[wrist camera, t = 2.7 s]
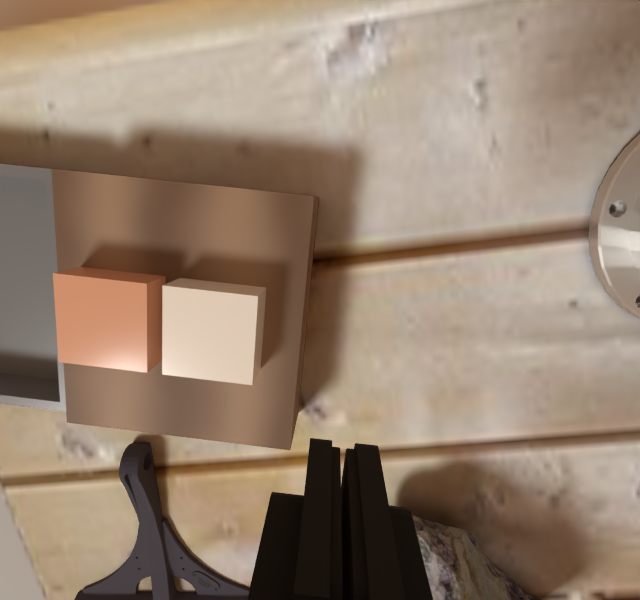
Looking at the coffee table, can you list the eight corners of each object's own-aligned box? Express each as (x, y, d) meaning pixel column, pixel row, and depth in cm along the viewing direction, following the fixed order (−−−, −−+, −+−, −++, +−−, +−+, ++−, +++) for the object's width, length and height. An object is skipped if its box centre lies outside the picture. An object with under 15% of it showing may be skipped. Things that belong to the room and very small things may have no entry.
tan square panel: (318, 197, 23) (314, 195, 19) (297, 413, 26) (290, 449, 22) (100, 175, 23) (51, 168, 19) (107, 390, 26) (66, 422, 22)
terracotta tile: (165, 276, 20) (146, 283, 18) (165, 357, 21) (147, 372, 19) (80, 266, 20) (52, 273, 18) (84, 347, 21) (58, 361, 19)
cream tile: (266, 287, 20) (258, 296, 18) (260, 368, 21) (252, 385, 19) (179, 277, 20) (162, 285, 18) (178, 358, 21) (162, 374, 19)
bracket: (244, 434, 27) (233, 459, 25) (262, 602, 31) (254, 640, 28) (51, 436, 28) (20, 460, 26) (89, 597, 32) (65, 634, 29)
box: (92, 174, 23) (55, 169, 20) (100, 389, 26) (70, 412, 23) (-71, 157, 23) (-130, 150, 20) (-42, 372, 27) (-90, 392, 24)
